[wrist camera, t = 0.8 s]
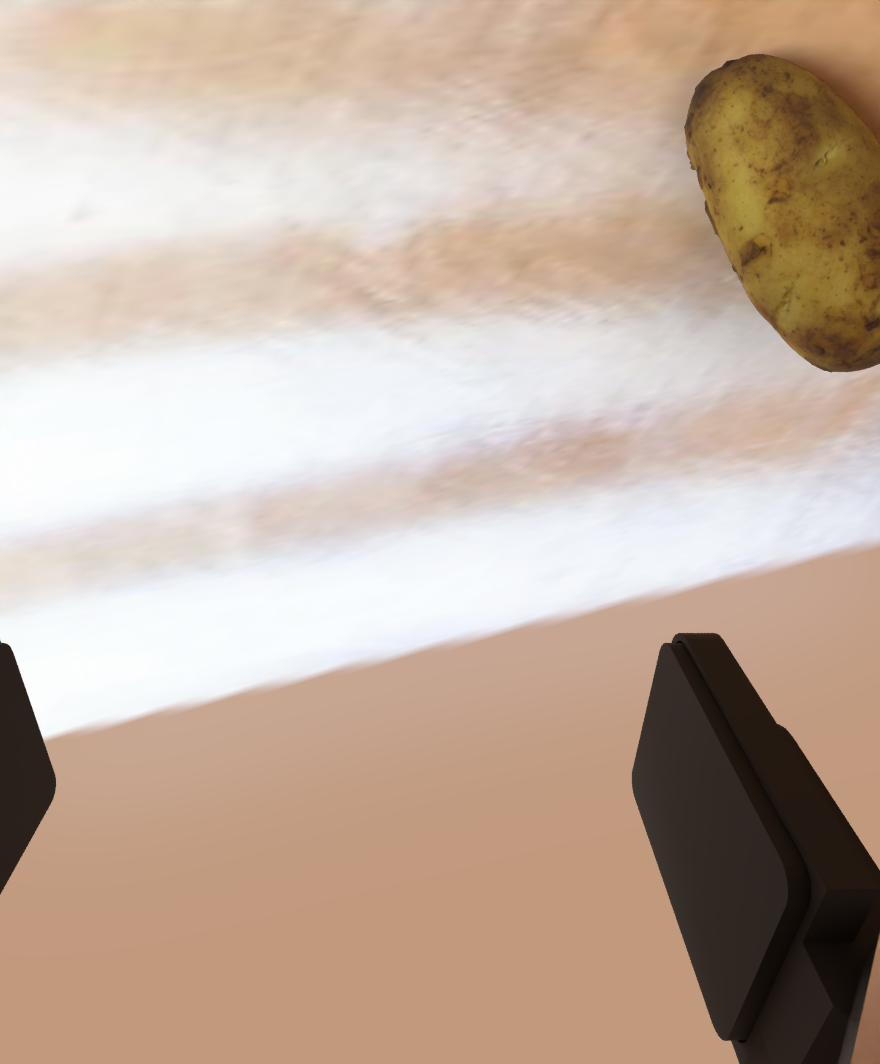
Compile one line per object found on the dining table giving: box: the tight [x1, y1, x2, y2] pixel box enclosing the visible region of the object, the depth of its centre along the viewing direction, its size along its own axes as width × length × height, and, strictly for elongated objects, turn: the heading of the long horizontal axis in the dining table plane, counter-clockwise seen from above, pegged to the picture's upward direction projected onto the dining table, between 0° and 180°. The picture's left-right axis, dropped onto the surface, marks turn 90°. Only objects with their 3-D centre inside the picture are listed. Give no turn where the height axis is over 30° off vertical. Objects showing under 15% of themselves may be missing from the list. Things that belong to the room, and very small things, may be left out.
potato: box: [684, 54, 880, 372], centre depth 28 cm, size 8×13×8 cm, turn 20°
